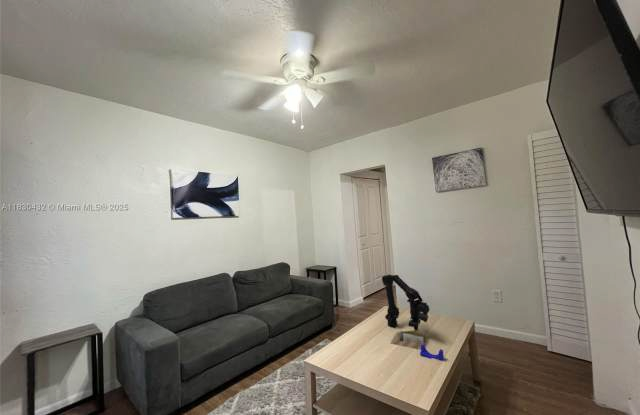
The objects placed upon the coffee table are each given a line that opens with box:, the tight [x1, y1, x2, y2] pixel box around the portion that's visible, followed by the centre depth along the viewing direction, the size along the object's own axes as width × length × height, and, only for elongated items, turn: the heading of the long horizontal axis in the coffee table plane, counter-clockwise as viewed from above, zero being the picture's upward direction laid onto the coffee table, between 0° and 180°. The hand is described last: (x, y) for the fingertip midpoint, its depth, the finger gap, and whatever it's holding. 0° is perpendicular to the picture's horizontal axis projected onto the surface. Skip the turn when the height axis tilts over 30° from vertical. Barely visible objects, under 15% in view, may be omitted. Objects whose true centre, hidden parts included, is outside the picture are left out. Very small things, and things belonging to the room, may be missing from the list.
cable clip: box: [419, 344, 445, 362], centre depth 152 cm, size 12×4×6 cm, turn 49°
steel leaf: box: [398, 330, 424, 345], centre depth 170 cm, size 15×2×6 cm, turn 58°
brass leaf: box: [401, 329, 422, 336], centre depth 175 cm, size 13×1×5 cm, turn 92°
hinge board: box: [389, 331, 430, 351], centre depth 173 cm, size 22×18×1 cm
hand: (416, 331), depth 178 cm, fingers closed
